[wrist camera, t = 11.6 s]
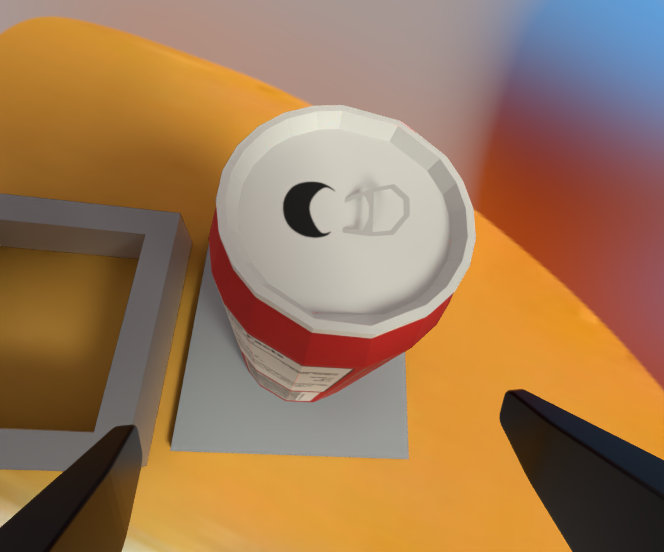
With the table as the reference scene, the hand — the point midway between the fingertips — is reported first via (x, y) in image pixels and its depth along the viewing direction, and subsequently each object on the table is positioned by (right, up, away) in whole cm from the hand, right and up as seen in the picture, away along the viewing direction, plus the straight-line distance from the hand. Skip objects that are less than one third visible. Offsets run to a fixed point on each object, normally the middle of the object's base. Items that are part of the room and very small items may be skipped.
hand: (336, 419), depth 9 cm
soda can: (-1, 0, +9) cm, 9 cm away
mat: (-2, 0, +9) cm, 9 cm away
